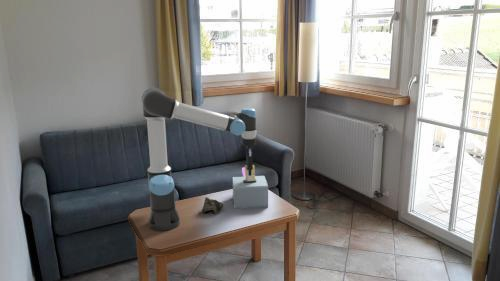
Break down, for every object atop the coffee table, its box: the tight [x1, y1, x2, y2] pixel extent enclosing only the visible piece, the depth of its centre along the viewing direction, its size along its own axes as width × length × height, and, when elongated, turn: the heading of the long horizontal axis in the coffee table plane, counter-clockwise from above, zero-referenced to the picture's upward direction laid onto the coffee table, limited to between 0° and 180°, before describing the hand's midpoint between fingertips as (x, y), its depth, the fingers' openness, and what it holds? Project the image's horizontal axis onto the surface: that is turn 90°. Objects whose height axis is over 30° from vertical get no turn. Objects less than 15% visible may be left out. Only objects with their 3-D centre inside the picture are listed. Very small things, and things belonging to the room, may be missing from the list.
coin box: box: [232, 175, 269, 209], centre depth 224 cm, size 18×16×12 cm
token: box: [244, 164, 256, 181], centre depth 221 cm, size 5×3×8 cm, turn 95°
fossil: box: [201, 196, 224, 215], centre depth 214 cm, size 11×9×10 cm
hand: (249, 179), depth 222 cm, fingers closed on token, 3 cm apart
